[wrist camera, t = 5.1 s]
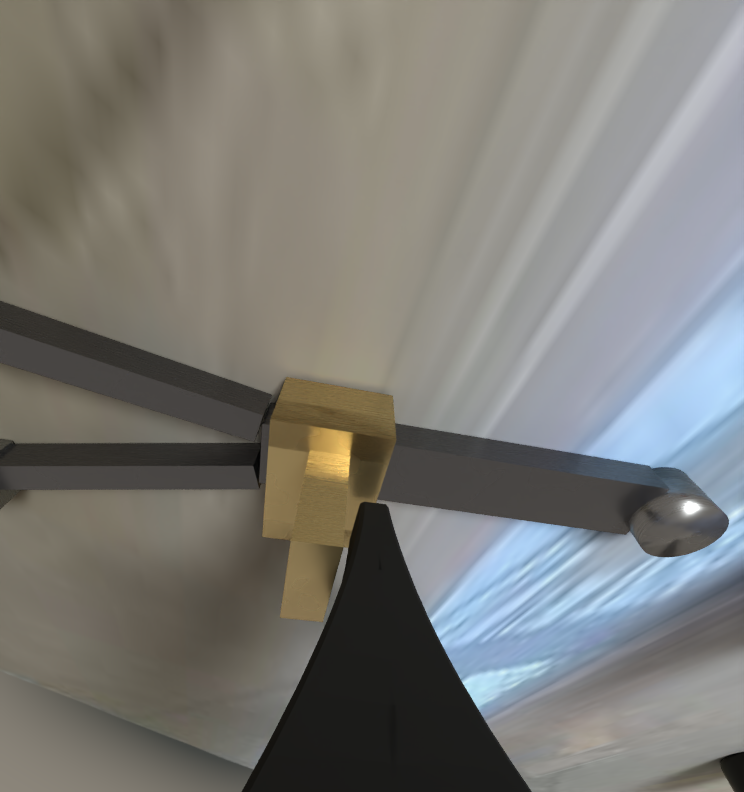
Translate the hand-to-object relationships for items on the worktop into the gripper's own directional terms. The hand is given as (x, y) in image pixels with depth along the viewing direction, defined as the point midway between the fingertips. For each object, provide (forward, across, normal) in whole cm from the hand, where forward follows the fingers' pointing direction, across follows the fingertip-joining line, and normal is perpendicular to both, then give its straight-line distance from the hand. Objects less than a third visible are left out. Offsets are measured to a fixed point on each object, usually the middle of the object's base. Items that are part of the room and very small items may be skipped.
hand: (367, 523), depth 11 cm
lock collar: (+3, +2, 0) cm, 4 cm away
